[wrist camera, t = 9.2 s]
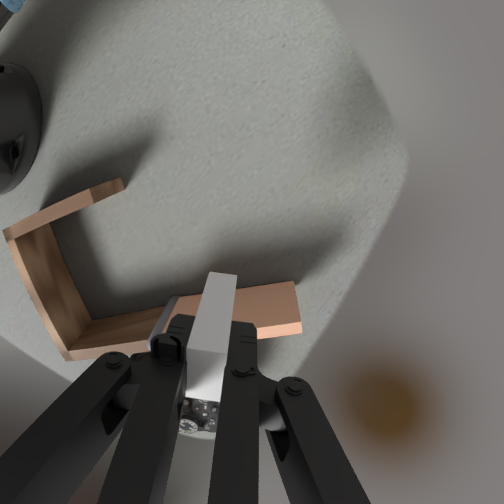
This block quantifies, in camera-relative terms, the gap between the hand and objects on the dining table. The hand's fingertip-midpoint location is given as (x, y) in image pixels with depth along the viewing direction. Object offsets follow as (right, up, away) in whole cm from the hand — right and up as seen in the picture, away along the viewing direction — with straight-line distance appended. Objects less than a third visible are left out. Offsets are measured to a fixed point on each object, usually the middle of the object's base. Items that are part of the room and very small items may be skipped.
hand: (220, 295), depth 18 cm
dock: (-13, +1, +12) cm, 18 cm away
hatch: (0, -2, +13) cm, 13 cm away
